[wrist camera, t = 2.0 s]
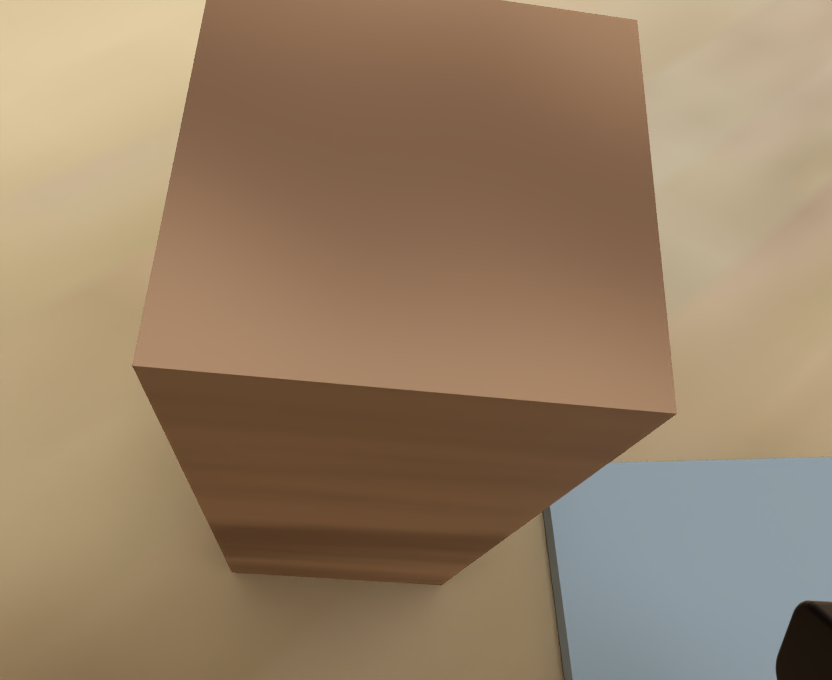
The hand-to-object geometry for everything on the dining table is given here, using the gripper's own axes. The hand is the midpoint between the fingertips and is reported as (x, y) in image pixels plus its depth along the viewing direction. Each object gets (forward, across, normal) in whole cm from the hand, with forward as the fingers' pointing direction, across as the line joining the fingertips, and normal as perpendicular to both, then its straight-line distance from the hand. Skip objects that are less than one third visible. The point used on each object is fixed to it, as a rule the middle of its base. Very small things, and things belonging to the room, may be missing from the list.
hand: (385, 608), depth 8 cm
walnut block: (+11, 0, +5) cm, 12 cm away
